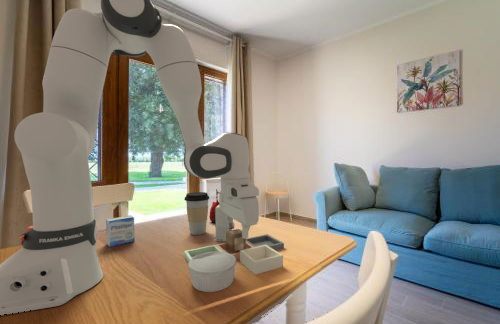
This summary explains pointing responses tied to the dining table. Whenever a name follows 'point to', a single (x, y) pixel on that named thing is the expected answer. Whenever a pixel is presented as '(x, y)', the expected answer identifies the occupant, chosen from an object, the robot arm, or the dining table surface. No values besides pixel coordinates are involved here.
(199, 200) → the coffee cup
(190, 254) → the tray near sage
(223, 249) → the tray middle terracotta
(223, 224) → the skincare box
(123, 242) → the medicine box
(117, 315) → the dining table surface
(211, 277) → the ramekin
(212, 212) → the red clay folk toy
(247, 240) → the tray far charcoal
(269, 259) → the cream square open box
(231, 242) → the tan block
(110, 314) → the dining table surface
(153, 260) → the dining table surface
